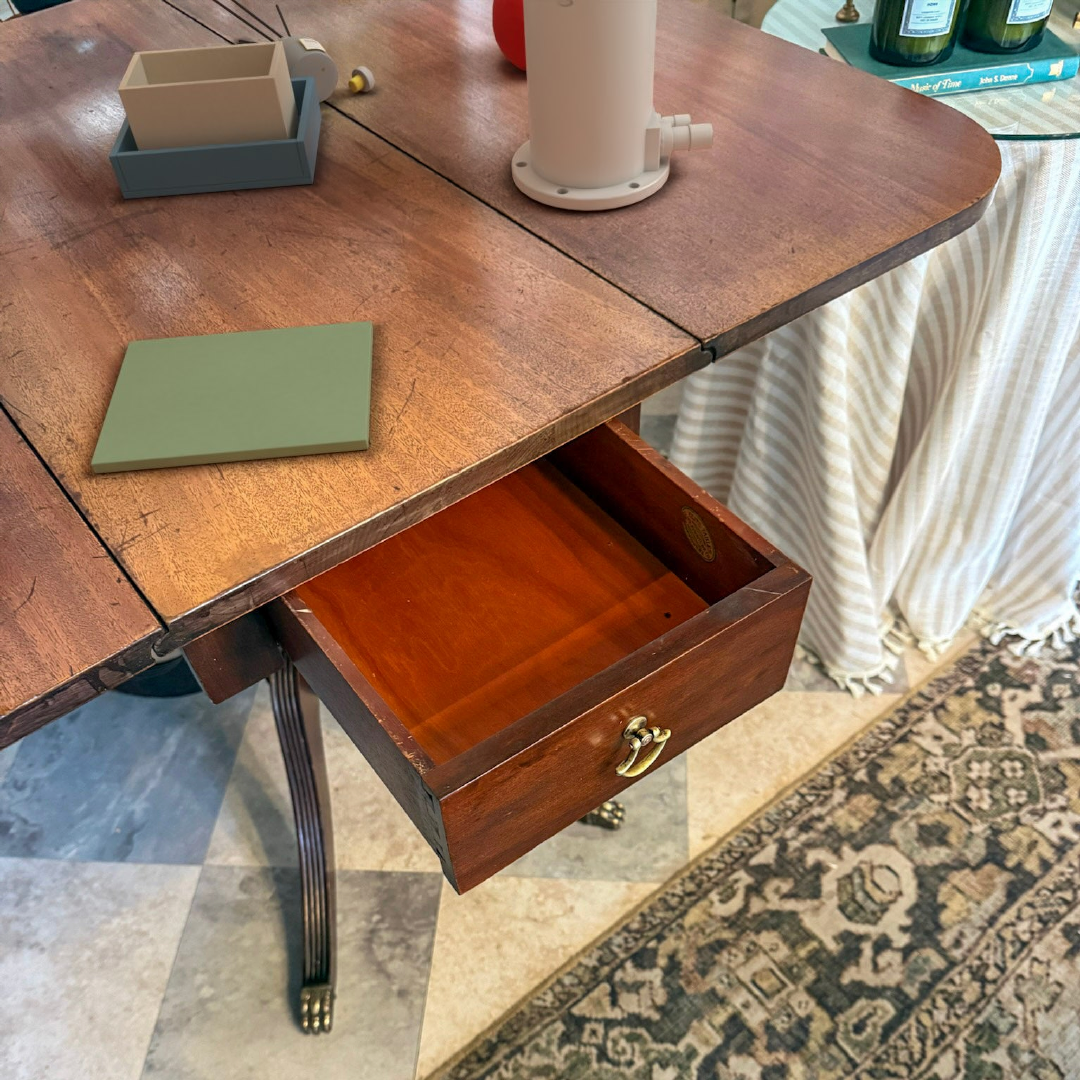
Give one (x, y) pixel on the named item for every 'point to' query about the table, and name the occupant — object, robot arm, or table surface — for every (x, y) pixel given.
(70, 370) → the table surface
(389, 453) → the table surface
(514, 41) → the fruit
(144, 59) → the cream bin
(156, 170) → the blue tote
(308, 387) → the mat
